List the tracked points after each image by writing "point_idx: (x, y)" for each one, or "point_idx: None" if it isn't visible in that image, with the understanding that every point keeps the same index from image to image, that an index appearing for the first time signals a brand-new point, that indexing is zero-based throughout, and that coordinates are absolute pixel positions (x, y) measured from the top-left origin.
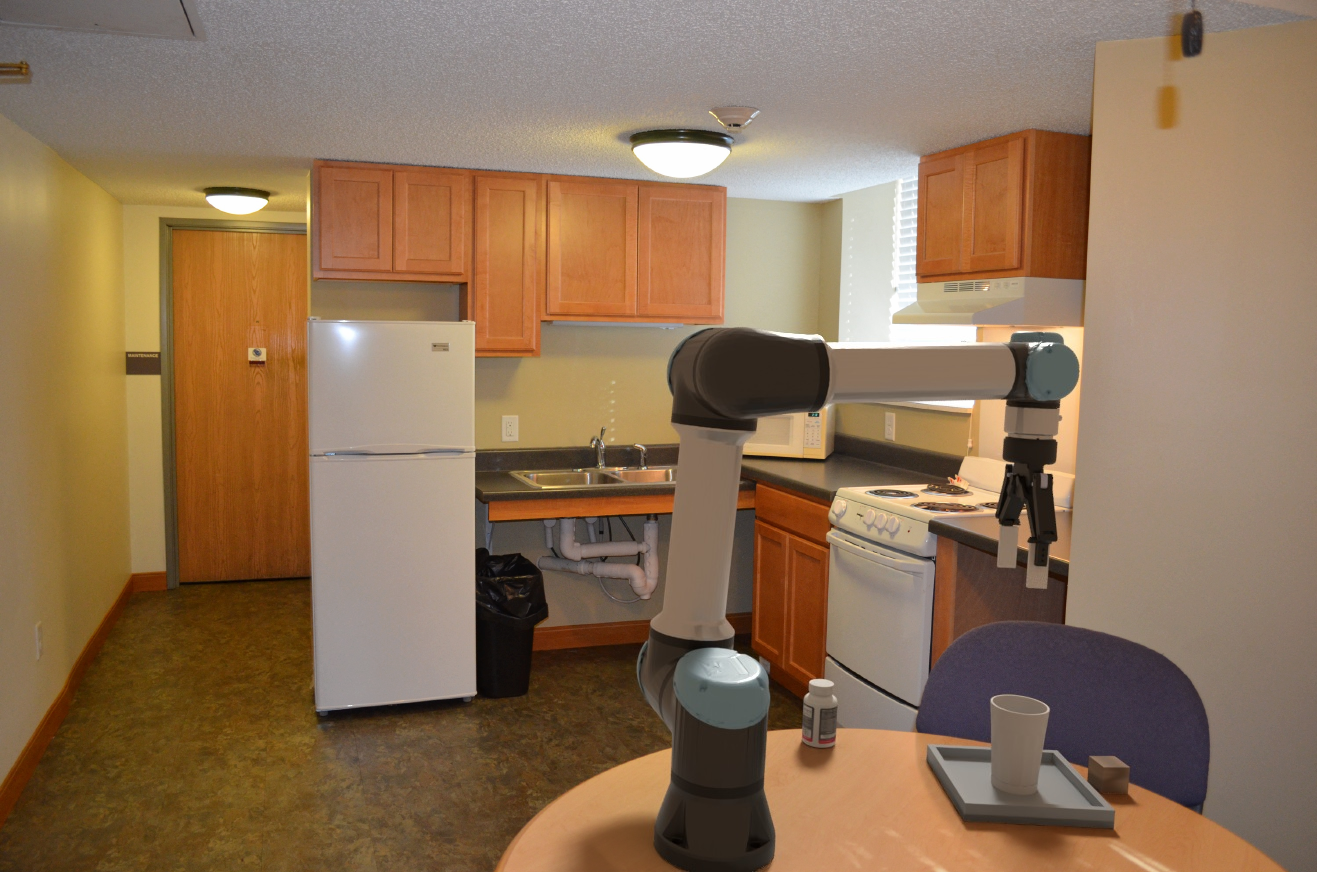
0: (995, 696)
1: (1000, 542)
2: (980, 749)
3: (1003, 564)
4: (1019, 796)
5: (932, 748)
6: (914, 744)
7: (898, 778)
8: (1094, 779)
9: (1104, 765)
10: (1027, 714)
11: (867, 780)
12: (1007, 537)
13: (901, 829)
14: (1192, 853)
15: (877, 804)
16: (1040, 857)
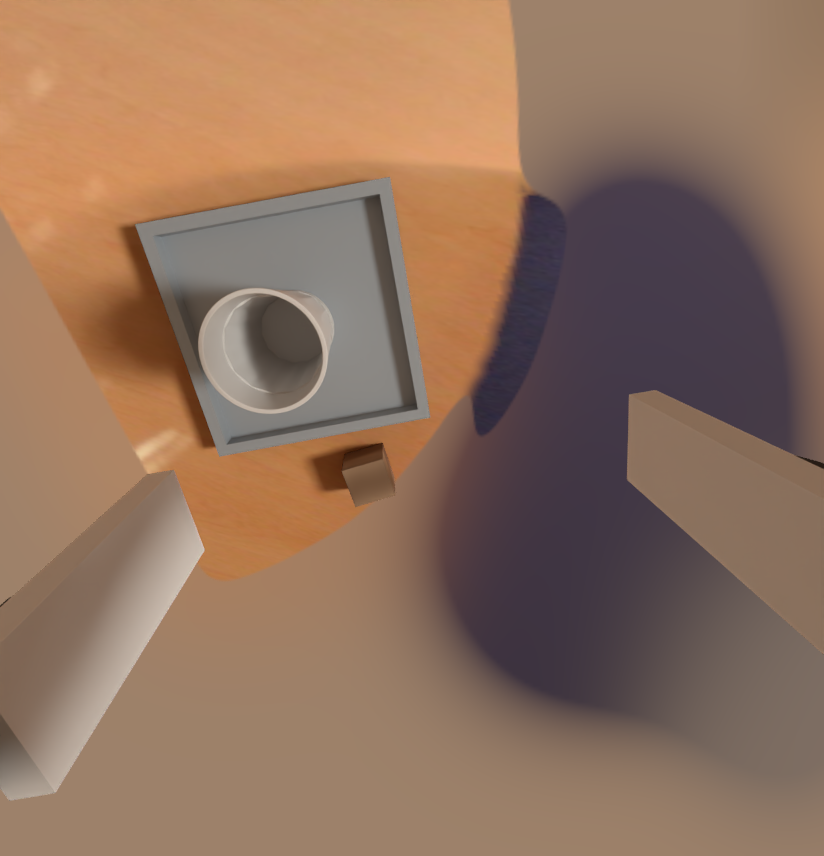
0: (296, 304)
1: (733, 453)
2: (396, 285)
3: (636, 425)
4: None
5: (368, 186)
6: (459, 163)
7: (281, 114)
8: (364, 452)
9: (350, 473)
10: (202, 360)
11: (247, 41)
12: (761, 521)
13: (62, 103)
14: (196, 520)
15: (144, 58)
16: (82, 330)
